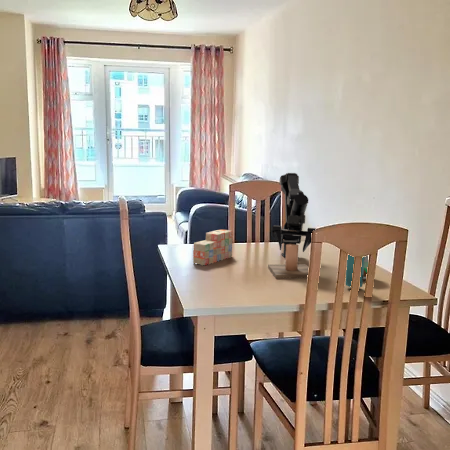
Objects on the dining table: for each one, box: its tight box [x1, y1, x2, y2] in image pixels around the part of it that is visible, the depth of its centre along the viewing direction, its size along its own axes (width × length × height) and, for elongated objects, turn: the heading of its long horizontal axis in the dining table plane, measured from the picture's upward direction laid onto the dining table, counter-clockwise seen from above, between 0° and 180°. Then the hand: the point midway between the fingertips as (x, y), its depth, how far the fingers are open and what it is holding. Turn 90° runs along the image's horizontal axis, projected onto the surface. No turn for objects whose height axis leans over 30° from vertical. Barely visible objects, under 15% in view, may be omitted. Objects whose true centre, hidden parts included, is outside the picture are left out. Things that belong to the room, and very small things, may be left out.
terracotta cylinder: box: [284, 244, 300, 271], centre depth 213 cm, size 5×5×10 cm
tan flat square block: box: [267, 263, 309, 280], centre depth 214 cm, size 16×16×2 cm
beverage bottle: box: [345, 255, 365, 288], centre depth 191 cm, size 6×7×20 cm
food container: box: [363, 256, 368, 282], centre depth 207 cm, size 12×6×10 cm, turn 168°
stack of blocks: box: [192, 229, 233, 266], centre depth 232 cm, size 21×6×12 cm, turn 147°
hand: (291, 250), depth 211 cm, fingers open, 9 cm apart
